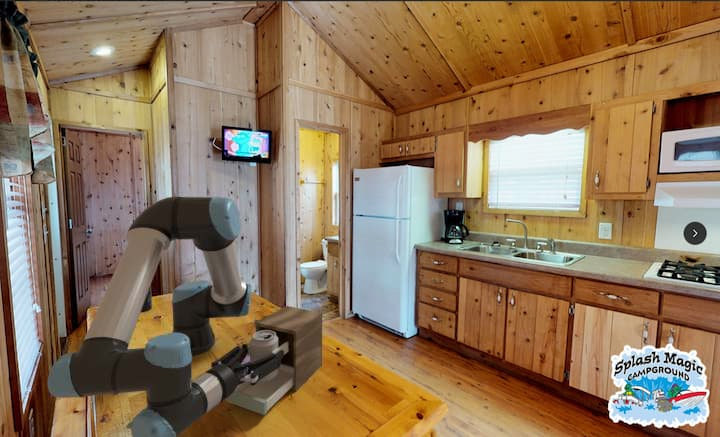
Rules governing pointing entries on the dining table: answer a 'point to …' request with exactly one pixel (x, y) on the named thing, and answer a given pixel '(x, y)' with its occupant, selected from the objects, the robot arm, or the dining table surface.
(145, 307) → the supplement bottle
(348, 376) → the dining table surface
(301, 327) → the housing
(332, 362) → the dining table surface
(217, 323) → the dining table surface
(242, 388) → the tray
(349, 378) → the dining table surface
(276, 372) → the can
